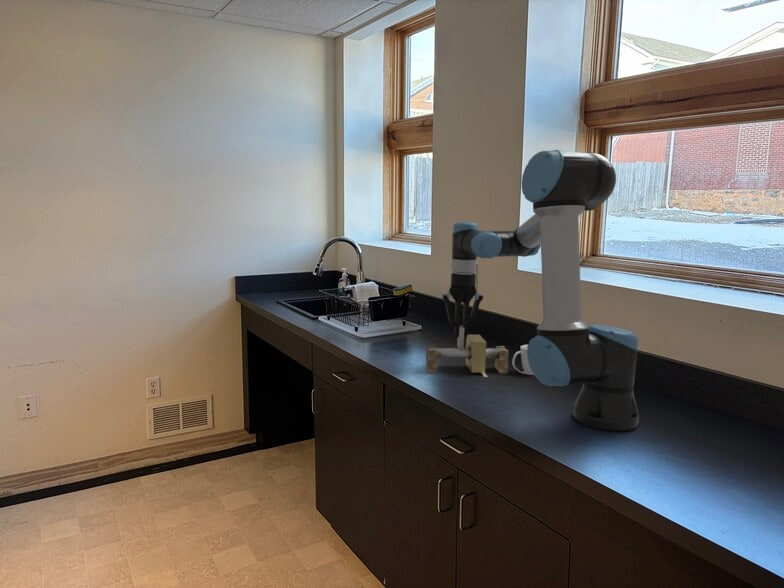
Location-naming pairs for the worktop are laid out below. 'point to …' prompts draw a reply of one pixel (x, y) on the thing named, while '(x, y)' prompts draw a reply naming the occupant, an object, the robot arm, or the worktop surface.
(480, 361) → the collar
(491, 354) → the pipe
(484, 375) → the tick mark
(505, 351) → the cradles
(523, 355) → the cup
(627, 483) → the worktop surface
